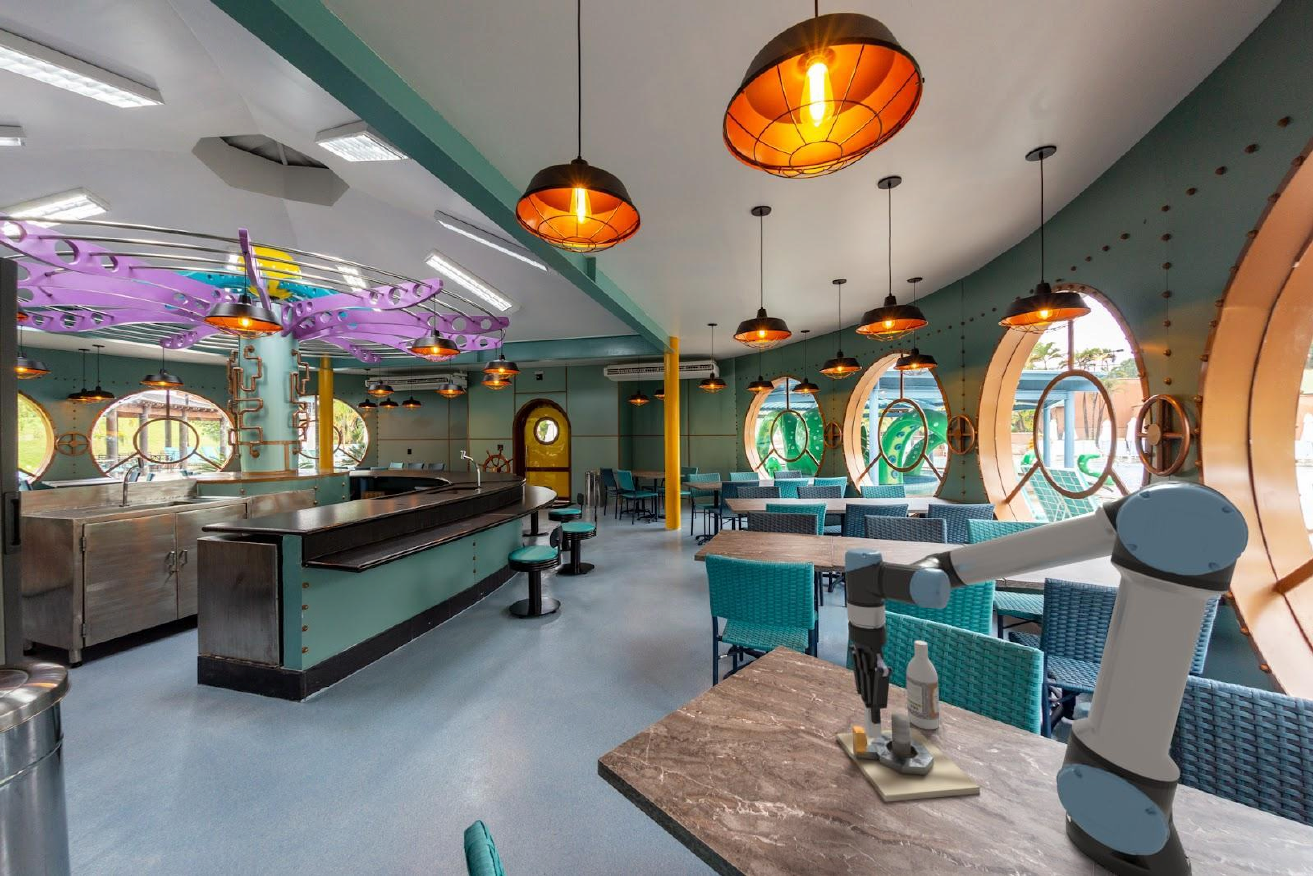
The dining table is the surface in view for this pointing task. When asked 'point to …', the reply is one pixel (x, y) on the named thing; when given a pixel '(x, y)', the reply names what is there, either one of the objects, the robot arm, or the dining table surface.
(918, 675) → the bath foam
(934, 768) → the post base
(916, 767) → the flange
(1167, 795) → the robot arm
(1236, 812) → the dining table surface
